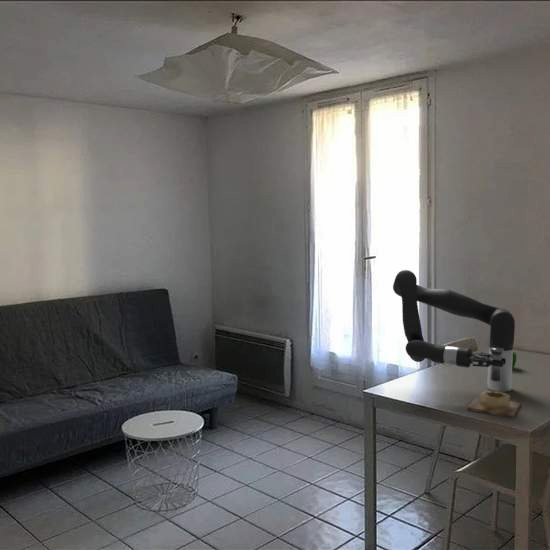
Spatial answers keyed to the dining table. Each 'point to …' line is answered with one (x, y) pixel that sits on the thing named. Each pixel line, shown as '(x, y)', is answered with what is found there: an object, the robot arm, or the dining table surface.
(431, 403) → the dining table surface
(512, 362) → the bell pepper
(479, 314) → the robot arm
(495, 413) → the nut base
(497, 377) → the steel pin
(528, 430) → the dining table surface
